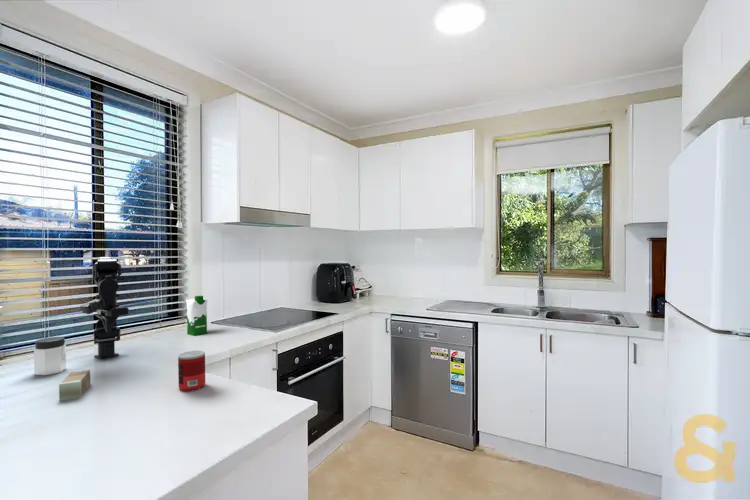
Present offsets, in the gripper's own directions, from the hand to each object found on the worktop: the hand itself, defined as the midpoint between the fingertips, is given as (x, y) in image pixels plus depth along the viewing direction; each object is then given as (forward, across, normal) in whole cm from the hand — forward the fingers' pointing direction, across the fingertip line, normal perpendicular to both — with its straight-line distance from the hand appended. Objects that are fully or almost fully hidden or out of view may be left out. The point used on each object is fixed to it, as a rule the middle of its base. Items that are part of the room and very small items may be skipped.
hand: (108, 332), depth 144 cm
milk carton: (+13, -16, +50) cm, 54 cm away
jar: (+13, -11, -14) cm, 22 cm away
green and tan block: (+11, +15, -16) cm, 24 cm away
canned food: (+13, +49, +1) cm, 51 cm away
